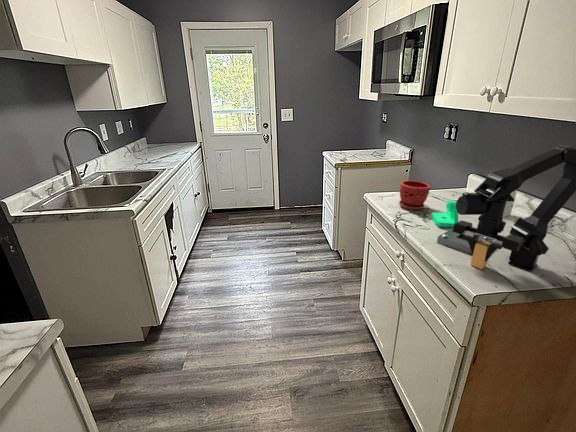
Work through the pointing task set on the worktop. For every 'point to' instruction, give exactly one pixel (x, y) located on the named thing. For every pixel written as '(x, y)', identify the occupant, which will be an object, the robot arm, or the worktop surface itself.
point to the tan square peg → (480, 254)
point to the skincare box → (509, 205)
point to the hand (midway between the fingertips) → (480, 258)
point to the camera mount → (446, 215)
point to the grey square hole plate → (458, 241)
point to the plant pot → (413, 194)
